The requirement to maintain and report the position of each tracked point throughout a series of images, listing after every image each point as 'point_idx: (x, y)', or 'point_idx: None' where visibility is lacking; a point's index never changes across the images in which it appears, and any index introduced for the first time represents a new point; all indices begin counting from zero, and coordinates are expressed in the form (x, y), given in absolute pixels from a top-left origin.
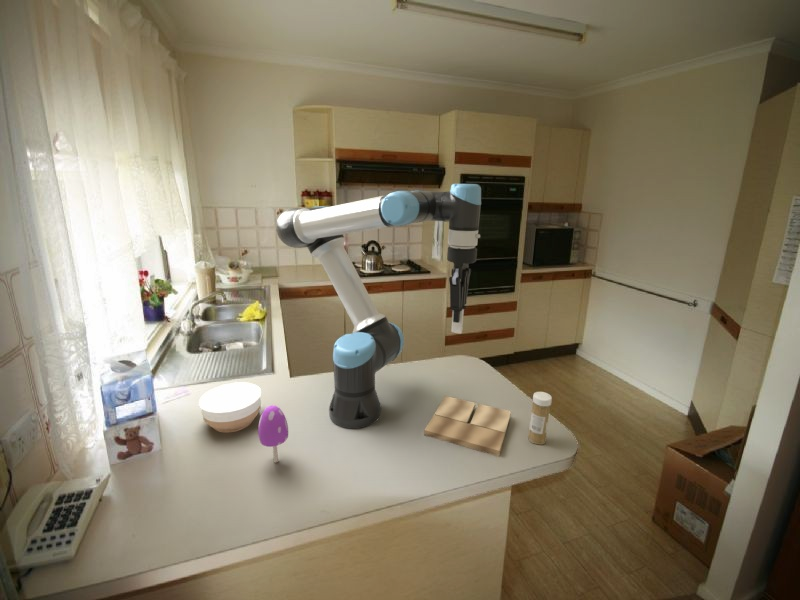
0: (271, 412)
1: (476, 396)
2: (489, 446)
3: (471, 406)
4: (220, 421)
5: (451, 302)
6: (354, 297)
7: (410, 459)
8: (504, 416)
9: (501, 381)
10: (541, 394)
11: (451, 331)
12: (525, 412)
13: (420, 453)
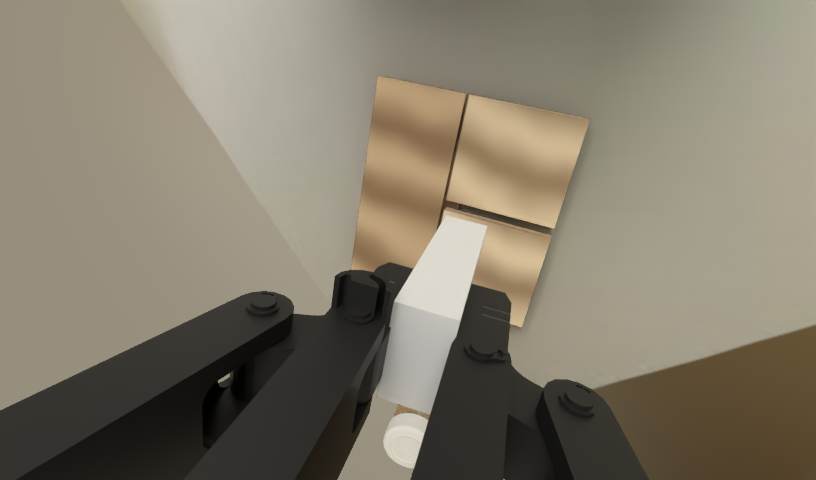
0: None
1: (646, 229)
2: (358, 253)
3: (531, 215)
4: None
5: (158, 351)
6: None
7: (279, 59)
8: None
9: (784, 325)
10: (414, 448)
11: (445, 218)
12: (562, 360)
13: (308, 81)
